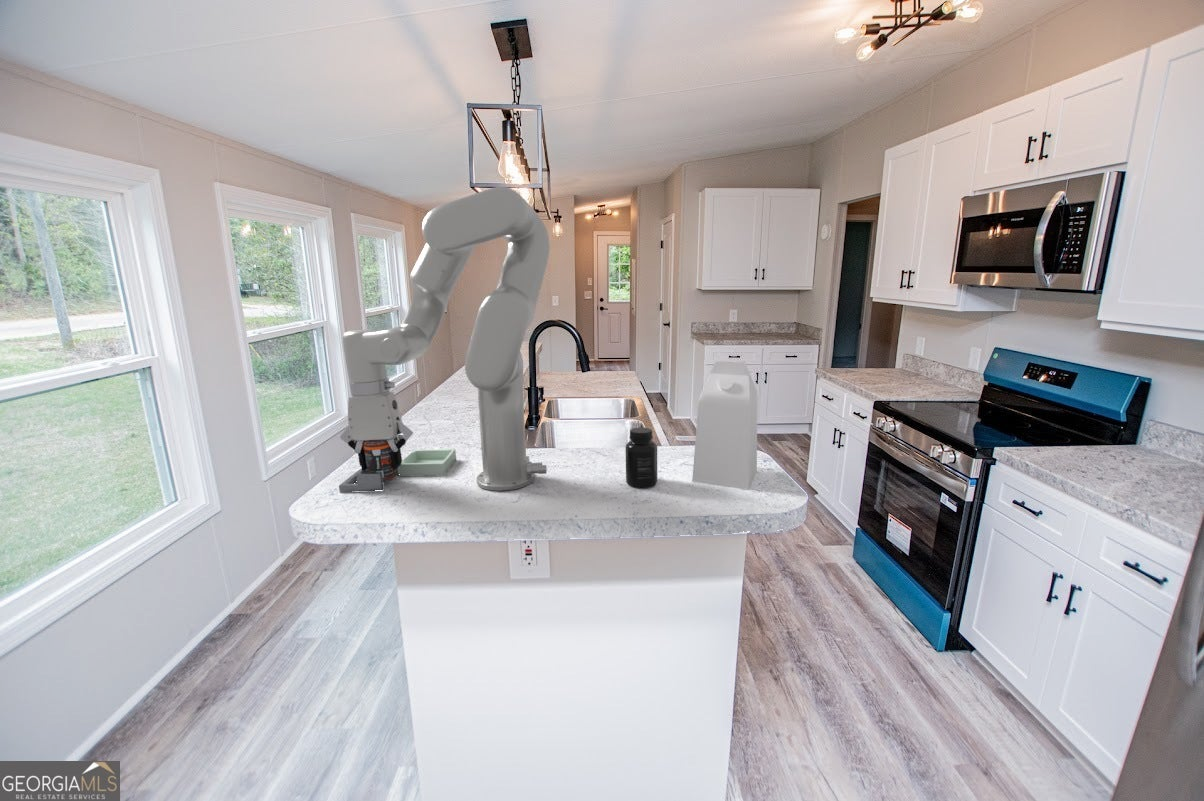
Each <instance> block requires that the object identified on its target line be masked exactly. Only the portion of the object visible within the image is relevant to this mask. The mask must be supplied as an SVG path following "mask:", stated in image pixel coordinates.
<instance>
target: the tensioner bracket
mask: <svg viewBox="0 0 1204 801" xmlns="http://www.w3.org/2000/svg"><path fill="white" fill-rule="evenodd" d="M396 470H397V475H396V477H399V476H400V475H399V474H400V473H399V467H398V468H397V469H396ZM356 481H357V482H356ZM355 482H356V483H355ZM354 483H355V484H354ZM383 489H384V490H385V486H384V482H383V477H382V472H367V470H365V471H362V468H360V469H358V470H357V471H356V472H355V473H353V474H352V475H350V476H349V477H348V478H346V480H344V481H343V482H342V483H340V484H339V485H338V490H339V493H353V492H352V491H375V490H383ZM384 490H383V491H384Z"/></svg>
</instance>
